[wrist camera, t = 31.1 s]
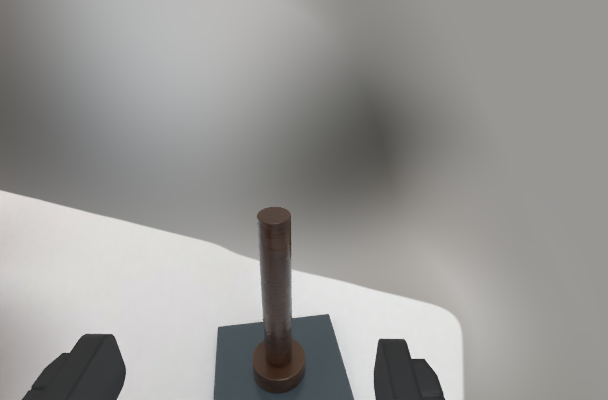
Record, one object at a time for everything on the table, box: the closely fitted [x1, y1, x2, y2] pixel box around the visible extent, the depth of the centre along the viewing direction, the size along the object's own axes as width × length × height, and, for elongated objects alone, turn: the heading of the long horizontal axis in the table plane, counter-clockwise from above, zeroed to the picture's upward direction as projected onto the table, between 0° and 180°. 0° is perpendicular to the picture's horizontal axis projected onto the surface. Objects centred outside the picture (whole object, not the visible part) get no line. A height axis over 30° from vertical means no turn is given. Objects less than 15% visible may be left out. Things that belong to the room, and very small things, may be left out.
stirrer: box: [252, 207, 305, 393], centre depth 25 cm, size 4×4×14 cm
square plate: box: [214, 314, 354, 400], centre depth 28 cm, size 10×10×1 cm
